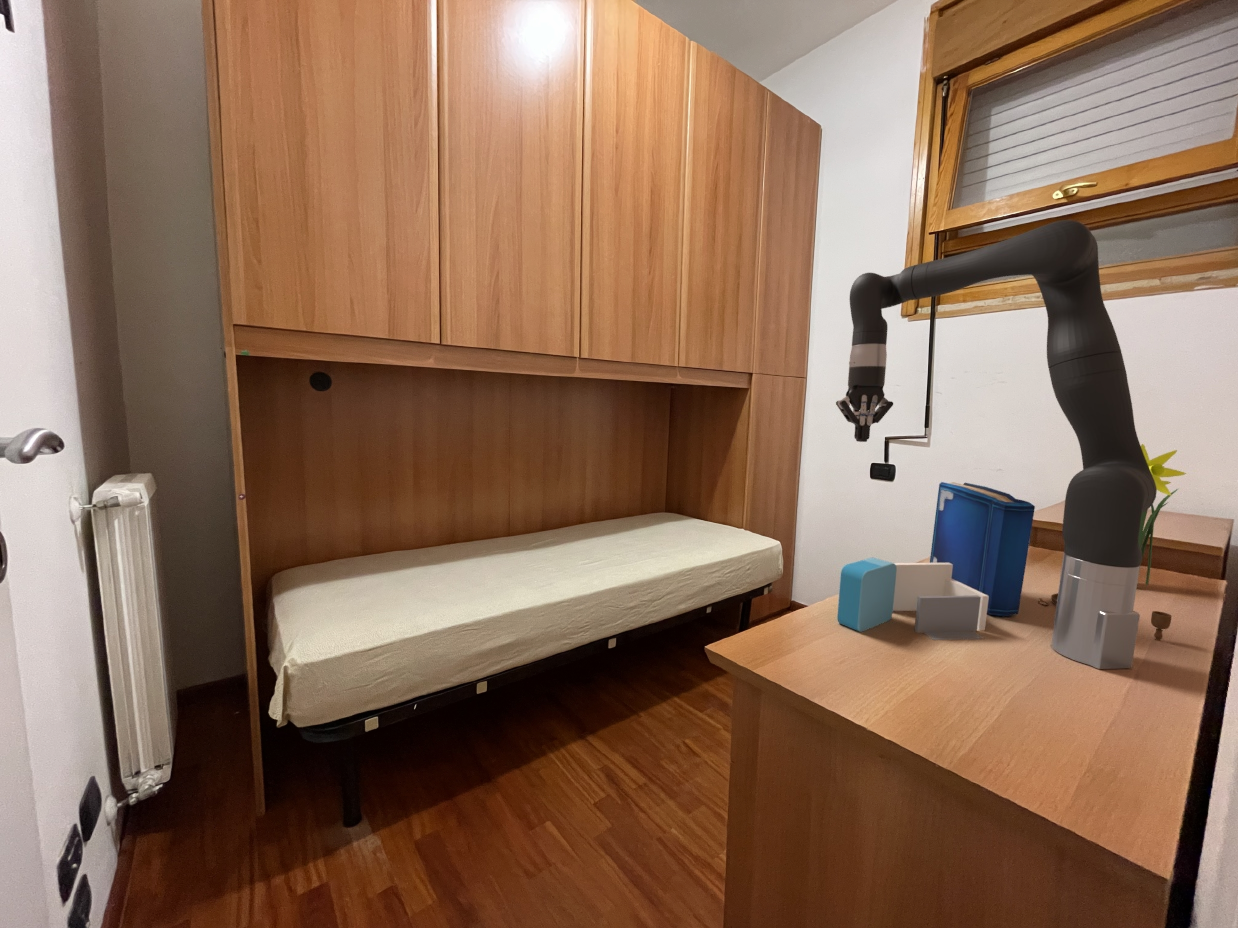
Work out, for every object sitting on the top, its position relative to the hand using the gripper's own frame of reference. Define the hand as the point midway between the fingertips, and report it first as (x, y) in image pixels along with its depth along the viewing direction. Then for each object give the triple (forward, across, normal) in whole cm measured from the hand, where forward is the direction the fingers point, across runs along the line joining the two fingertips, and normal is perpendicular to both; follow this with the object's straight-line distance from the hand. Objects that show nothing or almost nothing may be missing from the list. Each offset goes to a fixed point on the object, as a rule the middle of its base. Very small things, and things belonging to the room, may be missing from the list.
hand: (861, 441), depth 114 cm
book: (+34, +22, -10) cm, 42 cm away
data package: (+34, -9, -21) cm, 41 cm away
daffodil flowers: (+35, +68, -2) cm, 76 cm away
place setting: (+35, +42, -19) cm, 58 cm away
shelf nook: (+34, +5, -20) cm, 40 cm away
